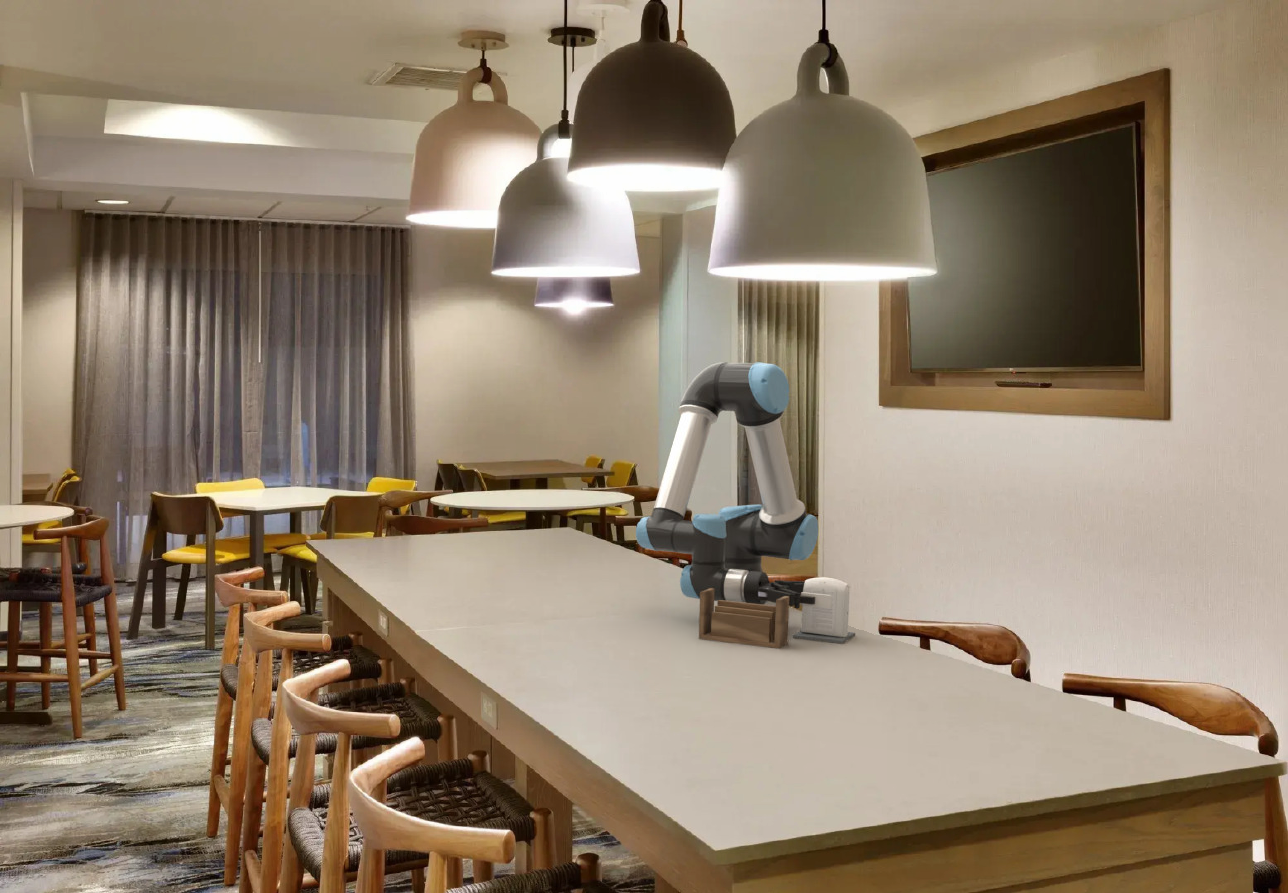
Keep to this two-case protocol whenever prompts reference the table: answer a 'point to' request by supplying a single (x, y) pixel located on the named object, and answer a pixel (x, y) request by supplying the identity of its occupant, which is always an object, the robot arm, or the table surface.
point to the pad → (823, 637)
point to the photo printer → (827, 618)
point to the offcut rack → (744, 621)
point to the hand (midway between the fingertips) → (840, 597)
